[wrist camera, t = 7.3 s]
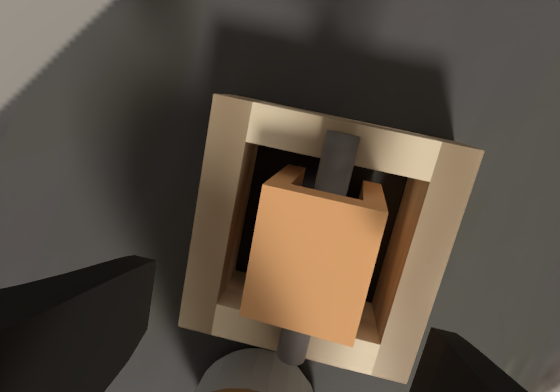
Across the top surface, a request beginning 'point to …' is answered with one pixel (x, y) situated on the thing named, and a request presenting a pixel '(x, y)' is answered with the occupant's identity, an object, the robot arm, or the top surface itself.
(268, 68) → the top surface
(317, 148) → the shelf block
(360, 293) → the orange u-channel
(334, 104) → the top surface
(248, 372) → the coffee cup
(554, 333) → the top surface
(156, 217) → the top surface
